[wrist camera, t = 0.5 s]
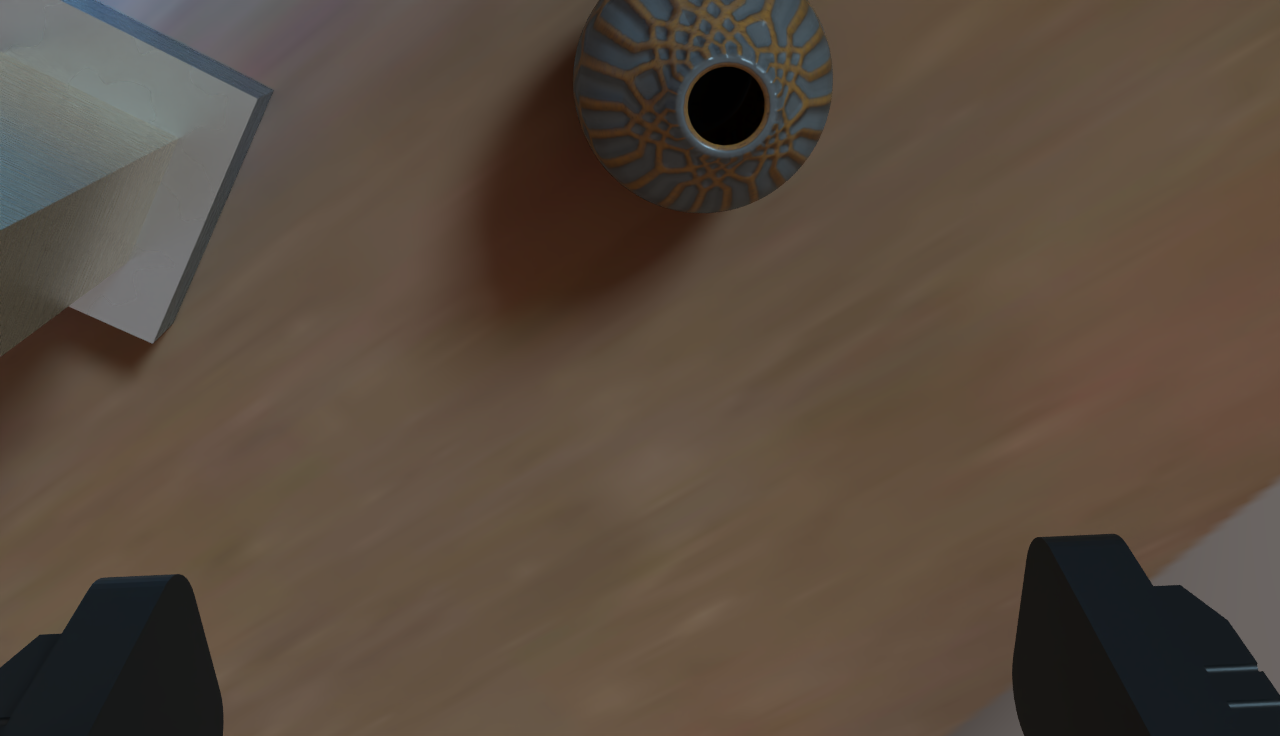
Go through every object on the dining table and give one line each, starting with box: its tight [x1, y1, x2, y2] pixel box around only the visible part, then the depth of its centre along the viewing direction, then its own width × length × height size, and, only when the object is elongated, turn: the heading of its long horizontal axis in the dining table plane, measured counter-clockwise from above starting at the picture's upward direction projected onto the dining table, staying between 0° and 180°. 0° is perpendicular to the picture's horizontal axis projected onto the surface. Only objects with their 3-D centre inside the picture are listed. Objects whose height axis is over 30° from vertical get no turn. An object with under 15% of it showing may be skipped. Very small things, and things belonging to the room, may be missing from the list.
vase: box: [573, 0, 833, 213], centre depth 32 cm, size 7×7×9 cm
